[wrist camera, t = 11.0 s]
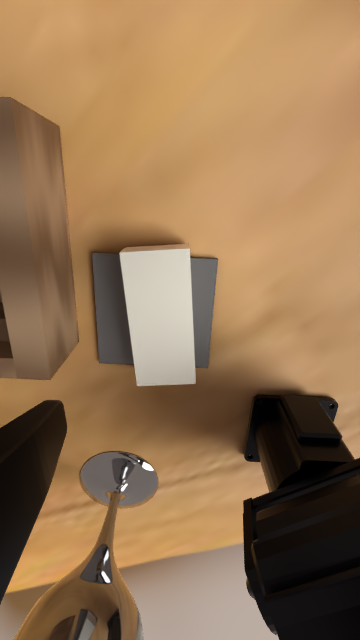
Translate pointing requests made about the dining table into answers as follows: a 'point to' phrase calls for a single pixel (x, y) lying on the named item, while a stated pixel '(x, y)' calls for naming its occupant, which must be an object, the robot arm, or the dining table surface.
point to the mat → (115, 318)
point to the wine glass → (97, 563)
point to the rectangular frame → (33, 248)
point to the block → (160, 313)
